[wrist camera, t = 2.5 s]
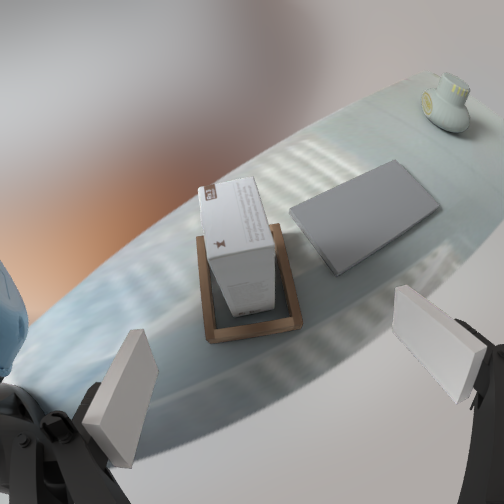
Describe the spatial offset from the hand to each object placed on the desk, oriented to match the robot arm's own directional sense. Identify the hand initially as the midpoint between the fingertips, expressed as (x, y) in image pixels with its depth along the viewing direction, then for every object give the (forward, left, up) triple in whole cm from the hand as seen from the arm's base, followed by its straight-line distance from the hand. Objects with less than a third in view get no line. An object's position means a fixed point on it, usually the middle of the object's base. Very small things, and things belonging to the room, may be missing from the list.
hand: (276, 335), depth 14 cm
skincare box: (-1, +8, -13) cm, 15 cm away
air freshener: (+40, +33, -13) cm, 53 cm away
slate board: (+15, +15, -13) cm, 24 cm away
